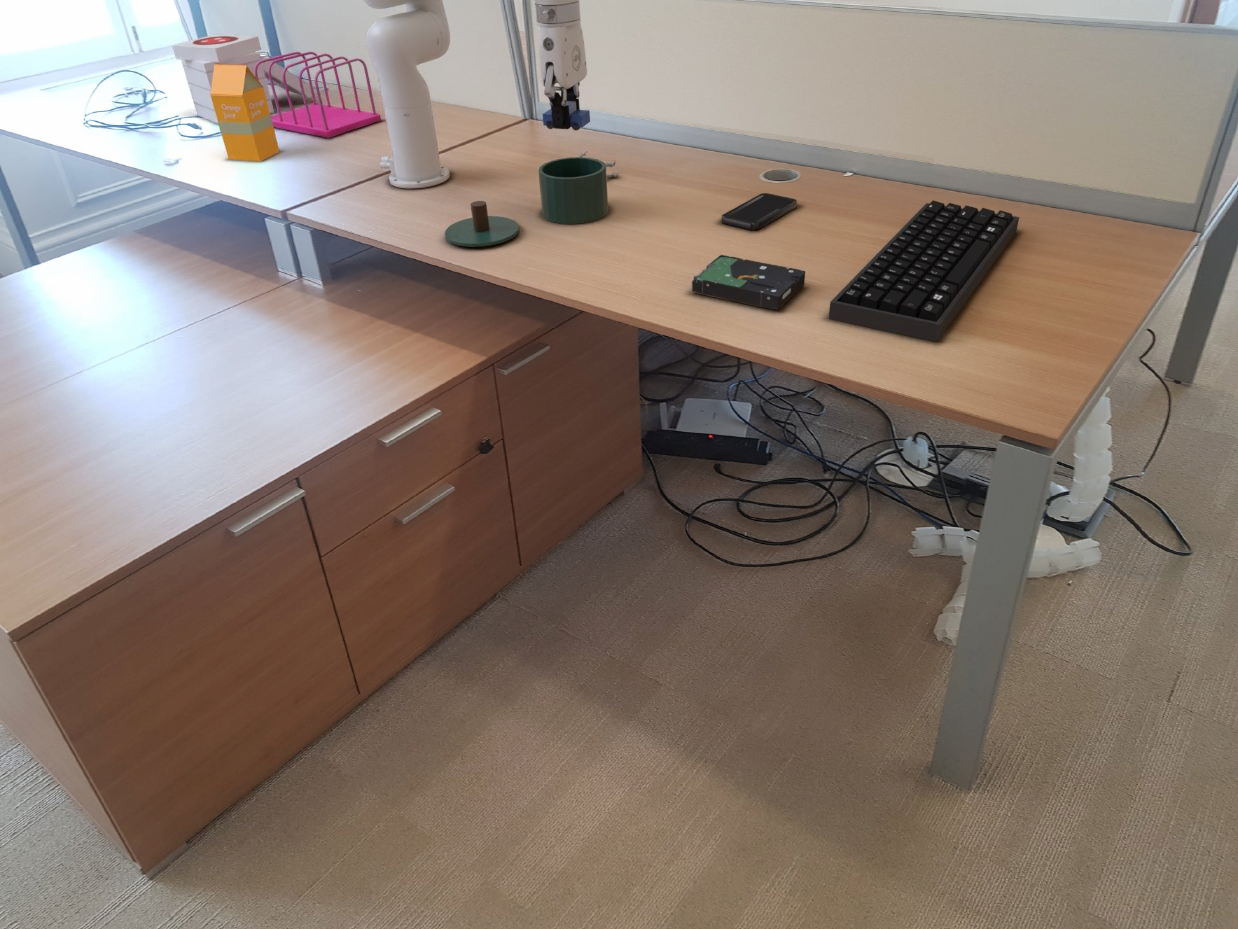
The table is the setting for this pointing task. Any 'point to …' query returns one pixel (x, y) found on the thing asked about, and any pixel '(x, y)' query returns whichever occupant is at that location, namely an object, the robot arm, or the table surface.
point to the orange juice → (242, 113)
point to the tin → (573, 190)
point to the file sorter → (320, 101)
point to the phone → (759, 211)
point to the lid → (481, 228)
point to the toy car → (576, 117)
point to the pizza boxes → (228, 50)
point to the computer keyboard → (926, 271)
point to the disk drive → (749, 282)
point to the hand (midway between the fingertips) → (566, 123)
